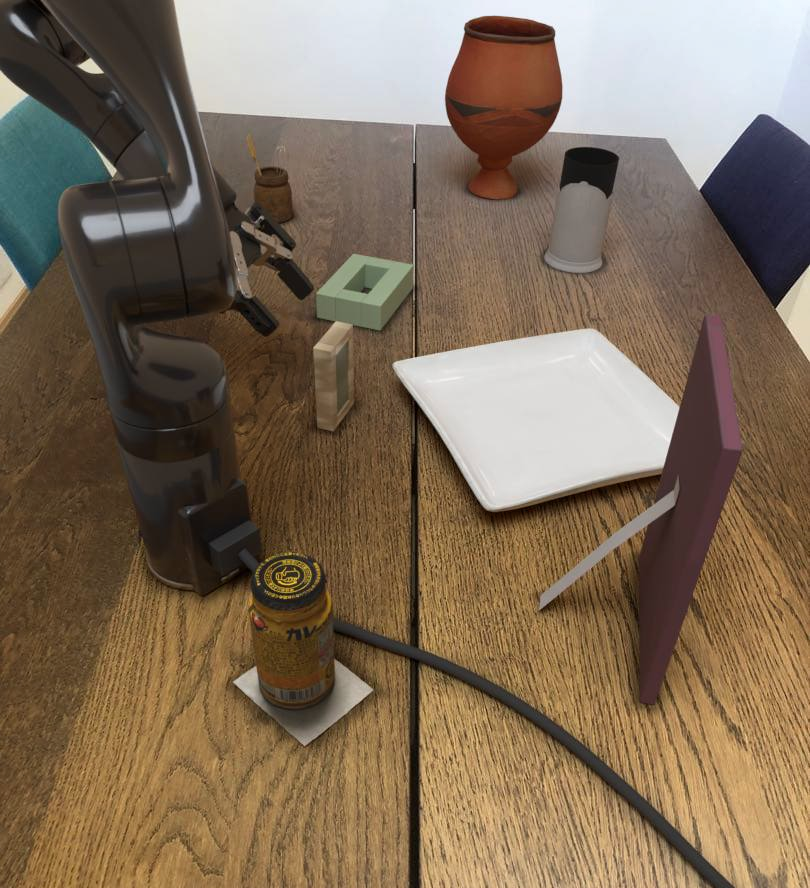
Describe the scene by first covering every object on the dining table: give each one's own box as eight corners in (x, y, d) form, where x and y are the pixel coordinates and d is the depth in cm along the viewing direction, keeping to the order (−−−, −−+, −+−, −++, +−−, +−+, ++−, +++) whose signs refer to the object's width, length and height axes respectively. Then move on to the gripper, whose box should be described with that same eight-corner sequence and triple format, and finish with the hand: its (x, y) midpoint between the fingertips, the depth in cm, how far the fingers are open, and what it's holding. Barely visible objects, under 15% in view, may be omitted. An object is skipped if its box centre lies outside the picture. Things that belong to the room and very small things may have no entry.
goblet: (491, 221, 133) (510, 46, 116) (416, 184, 144) (422, 20, 127) (570, 195, 142) (598, 30, 125) (494, 163, 153) (510, 6, 136)
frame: (316, 428, 90) (312, 347, 83) (337, 399, 94) (335, 320, 87) (333, 432, 90) (330, 351, 83) (354, 403, 94) (353, 324, 87)
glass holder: (538, 266, 121) (554, 161, 111) (557, 230, 131) (573, 130, 121) (597, 277, 120) (619, 170, 109) (611, 239, 129) (632, 139, 119)
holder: (316, 317, 108) (315, 293, 106) (353, 276, 117) (353, 253, 115) (380, 331, 106) (380, 306, 104) (412, 288, 115) (413, 264, 113)
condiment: (302, 633, 69) (293, 528, 60) (373, 691, 65) (374, 587, 56) (233, 683, 65) (213, 578, 57) (304, 748, 61) (294, 645, 52)
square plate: (387, 387, 96) (388, 358, 94) (589, 351, 104) (595, 323, 101) (483, 535, 78) (487, 505, 76) (720, 479, 86) (731, 449, 83)
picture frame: (654, 705, 65) (759, 452, 47) (530, 682, 66) (588, 428, 49) (651, 561, 76) (733, 317, 59) (546, 543, 78) (597, 300, 61)
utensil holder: (288, 225, 129) (282, 145, 121) (249, 222, 130) (241, 142, 122) (297, 211, 133) (293, 133, 125) (260, 207, 134) (253, 129, 126)
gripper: (156, 183, 72) (283, 326, 78) (232, 135, 82) (340, 264, 88) (117, 232, 77) (239, 363, 82) (193, 181, 87) (298, 301, 92)
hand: (291, 312), depth 85 cm, fingers open, 8 cm apart
